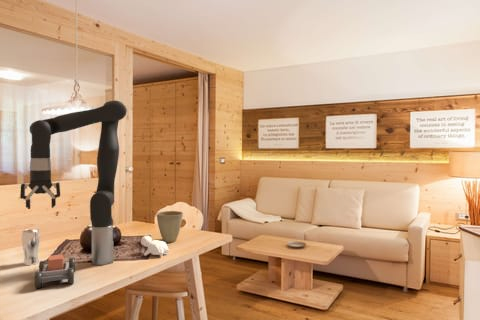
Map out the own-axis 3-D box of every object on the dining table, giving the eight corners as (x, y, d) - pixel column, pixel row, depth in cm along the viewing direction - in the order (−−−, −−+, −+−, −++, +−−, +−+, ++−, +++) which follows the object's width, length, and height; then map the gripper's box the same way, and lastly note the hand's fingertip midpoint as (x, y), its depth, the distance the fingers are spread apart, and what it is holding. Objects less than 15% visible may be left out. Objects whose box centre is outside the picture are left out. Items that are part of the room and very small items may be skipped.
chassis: (74, 269, 152) (74, 255, 151) (73, 285, 134) (73, 270, 134) (40, 273, 146) (40, 259, 146) (34, 290, 129) (34, 274, 129)
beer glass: (27, 260, 162) (26, 229, 161) (42, 260, 163) (42, 228, 162) (18, 266, 155) (18, 232, 154) (35, 265, 156) (34, 232, 155)
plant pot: (186, 238, 206) (186, 211, 205) (177, 245, 191) (177, 216, 190) (162, 236, 208) (162, 210, 208) (151, 243, 194) (152, 215, 193)
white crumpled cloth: (167, 259, 177) (145, 244, 182) (172, 244, 175) (150, 230, 181) (157, 264, 169) (134, 249, 174) (162, 249, 167) (139, 234, 173)
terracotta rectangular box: (63, 267, 143) (63, 254, 142) (62, 272, 137) (62, 258, 137) (49, 269, 141) (49, 255, 140) (48, 274, 135) (48, 260, 135)
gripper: (60, 168, 149) (60, 205, 150) (22, 168, 144) (22, 207, 144) (59, 169, 143) (59, 208, 143) (18, 169, 137) (19, 210, 137)
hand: (40, 208), depth 144 cm, fingers open, 8 cm apart
